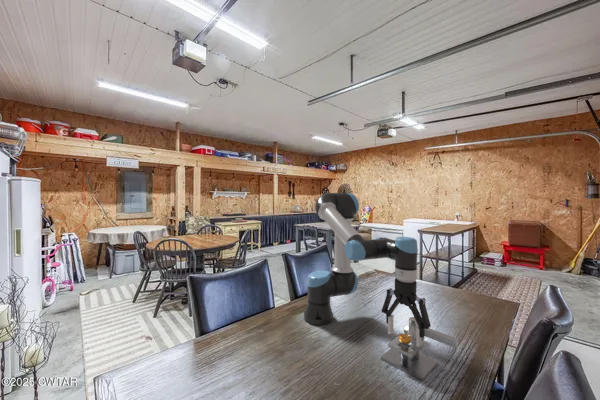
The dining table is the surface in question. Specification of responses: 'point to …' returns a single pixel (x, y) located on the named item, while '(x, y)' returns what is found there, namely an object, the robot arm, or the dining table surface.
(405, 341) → the gold knobbed rod
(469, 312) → the dining table surface
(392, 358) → the grey lever mechanism
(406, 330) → the pipe fitting
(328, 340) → the dining table surface
